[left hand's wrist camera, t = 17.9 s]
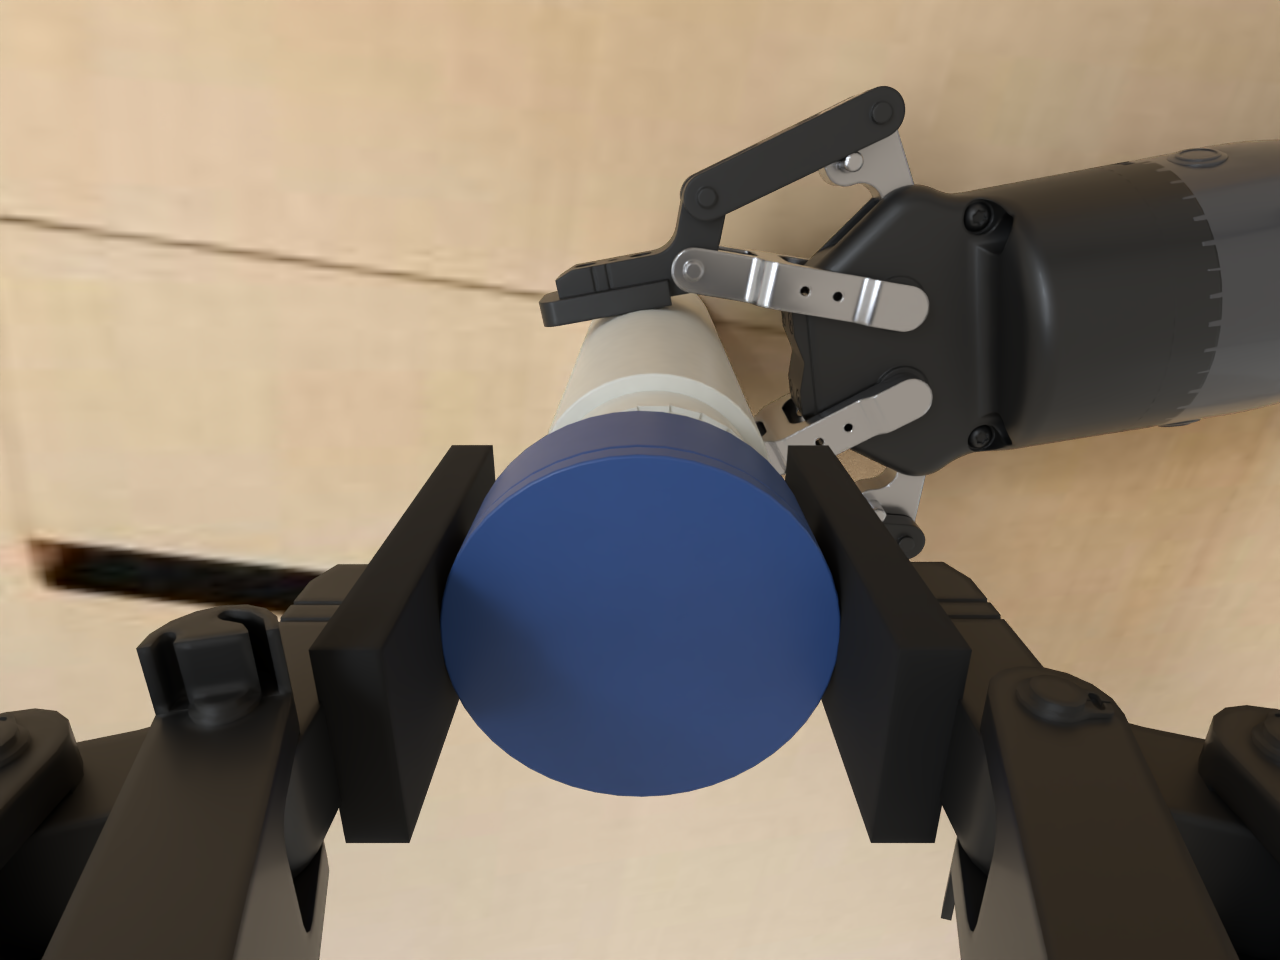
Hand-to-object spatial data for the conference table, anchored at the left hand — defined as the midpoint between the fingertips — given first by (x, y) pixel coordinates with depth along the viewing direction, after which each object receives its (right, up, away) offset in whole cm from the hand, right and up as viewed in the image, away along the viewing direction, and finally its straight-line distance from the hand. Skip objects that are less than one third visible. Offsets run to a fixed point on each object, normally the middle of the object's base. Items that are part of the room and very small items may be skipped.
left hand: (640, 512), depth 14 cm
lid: (0, -2, -4) cm, 4 cm away
